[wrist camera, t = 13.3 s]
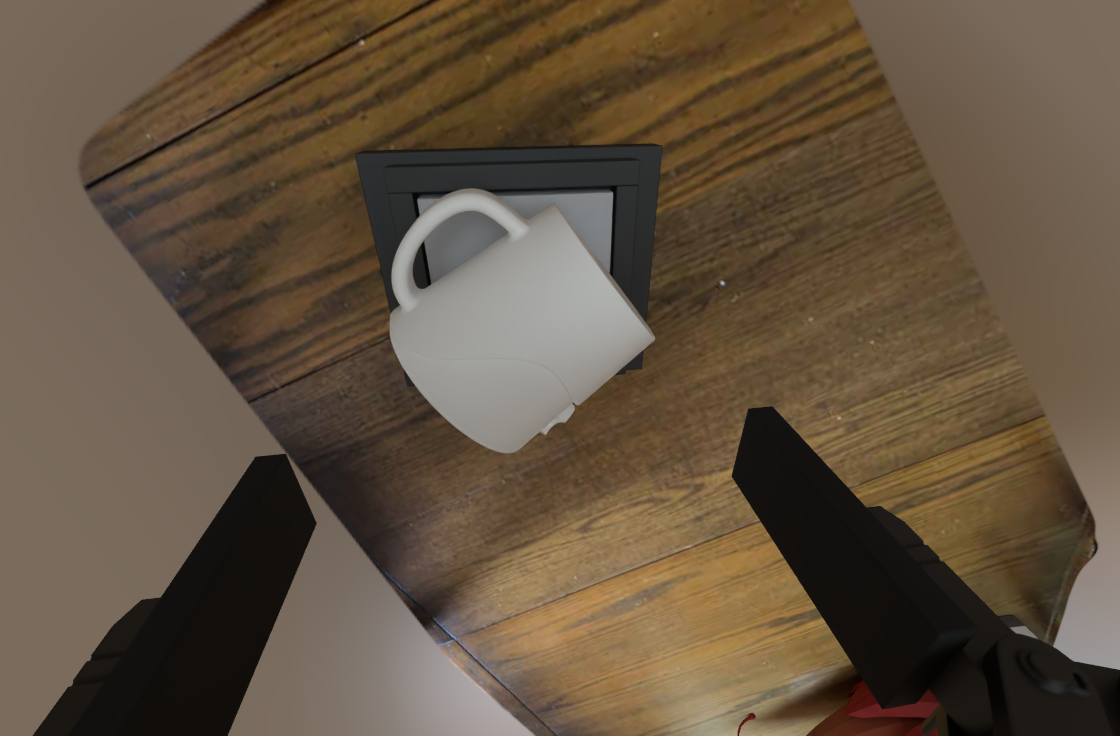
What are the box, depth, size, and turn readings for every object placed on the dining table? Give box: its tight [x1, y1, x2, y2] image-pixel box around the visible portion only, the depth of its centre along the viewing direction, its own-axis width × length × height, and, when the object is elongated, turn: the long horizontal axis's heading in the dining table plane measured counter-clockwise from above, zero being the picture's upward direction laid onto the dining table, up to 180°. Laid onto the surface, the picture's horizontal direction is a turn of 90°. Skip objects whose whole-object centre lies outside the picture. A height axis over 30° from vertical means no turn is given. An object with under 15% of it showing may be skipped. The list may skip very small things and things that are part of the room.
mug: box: [389, 188, 655, 453], centre depth 21 cm, size 12×9×8 cm
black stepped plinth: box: [355, 144, 662, 386], centre depth 27 cm, size 16×14×3 cm
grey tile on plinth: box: [417, 188, 613, 284], centre depth 26 cm, size 10×10×2 cm
